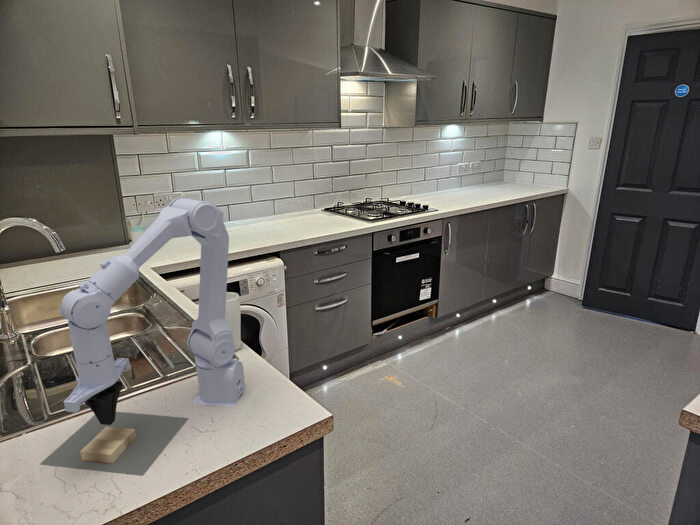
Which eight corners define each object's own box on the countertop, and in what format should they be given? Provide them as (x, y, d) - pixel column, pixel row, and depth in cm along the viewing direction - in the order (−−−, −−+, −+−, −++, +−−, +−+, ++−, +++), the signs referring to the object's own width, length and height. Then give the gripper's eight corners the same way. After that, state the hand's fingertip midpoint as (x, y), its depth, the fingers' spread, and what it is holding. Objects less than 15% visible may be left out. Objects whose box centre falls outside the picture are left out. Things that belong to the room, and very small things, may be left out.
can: (152, 249, 223) (149, 225, 219) (142, 253, 216) (138, 228, 213) (140, 248, 225) (137, 224, 221) (130, 252, 218) (126, 227, 215)
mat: (189, 420, 93) (188, 418, 93) (143, 478, 78) (142, 475, 78) (100, 412, 96) (100, 410, 96) (40, 466, 81) (39, 464, 81)
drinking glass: (246, 342, 126) (242, 291, 122) (240, 354, 120) (235, 301, 115) (222, 342, 126) (217, 291, 122) (214, 354, 120) (208, 301, 115)
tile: (134, 429, 87) (110, 454, 80) (136, 438, 87) (112, 463, 81) (106, 426, 87) (80, 451, 81) (108, 435, 88) (82, 460, 81)
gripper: (101, 336, 87) (113, 398, 91) (40, 376, 73) (58, 447, 77) (135, 338, 86) (145, 400, 90) (80, 379, 72) (95, 450, 76)
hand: (107, 422), depth 83 cm, fingers closed
